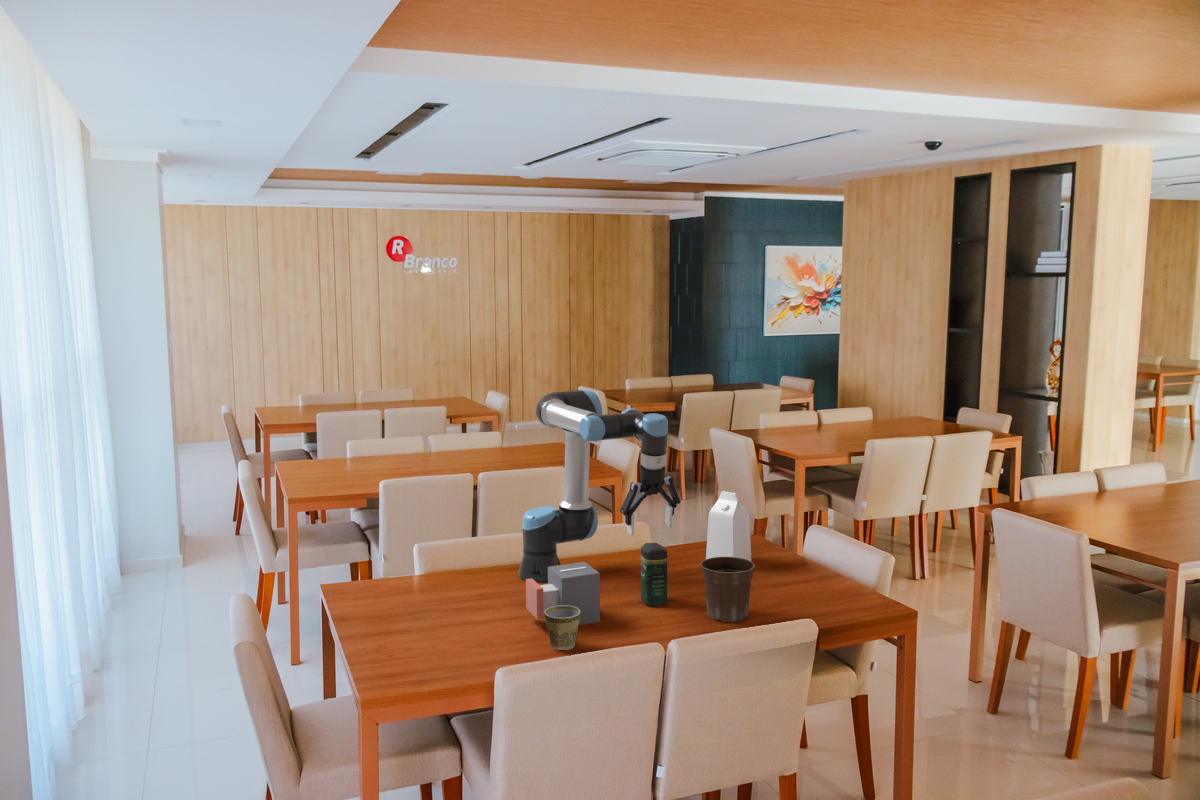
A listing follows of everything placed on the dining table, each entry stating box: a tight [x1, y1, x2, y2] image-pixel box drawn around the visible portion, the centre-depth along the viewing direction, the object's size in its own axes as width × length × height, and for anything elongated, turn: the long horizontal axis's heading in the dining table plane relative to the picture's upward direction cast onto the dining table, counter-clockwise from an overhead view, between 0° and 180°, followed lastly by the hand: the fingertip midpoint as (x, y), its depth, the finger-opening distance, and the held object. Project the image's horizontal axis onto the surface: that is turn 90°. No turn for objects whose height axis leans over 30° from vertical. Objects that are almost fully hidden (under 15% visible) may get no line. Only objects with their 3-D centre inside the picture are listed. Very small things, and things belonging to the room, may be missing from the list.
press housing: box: [547, 561, 601, 626], centre depth 255 cm, size 12×12×15 cm
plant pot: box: [700, 557, 756, 623], centre depth 256 cm, size 16×16×16 cm
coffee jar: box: [640, 542, 669, 607], centre depth 268 cm, size 10×8×19 cm
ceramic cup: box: [544, 605, 580, 651], centre depth 236 cm, size 13×10×10 cm
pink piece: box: [525, 578, 559, 620], centre depth 253 cm, size 14×10×9 cm
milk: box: [705, 490, 752, 562], centre depth 307 cm, size 12×12×26 cm
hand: (649, 529), depth 260 cm, fingers open, 13 cm apart
